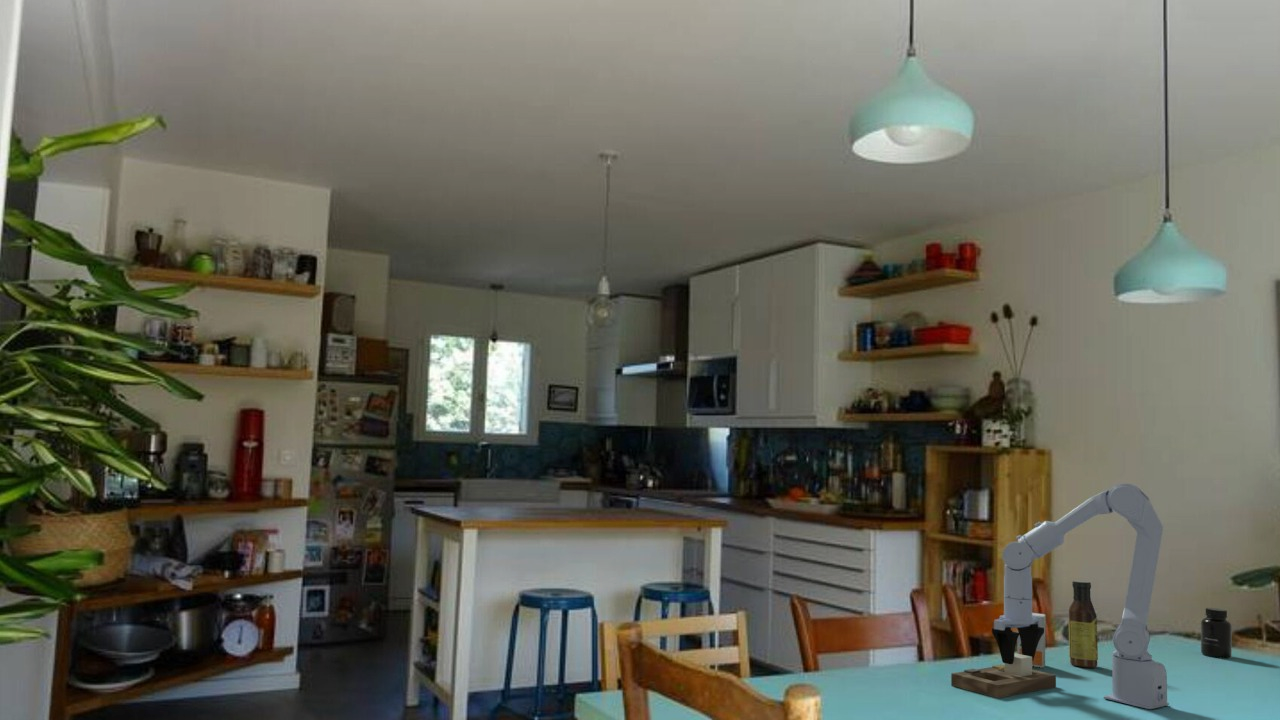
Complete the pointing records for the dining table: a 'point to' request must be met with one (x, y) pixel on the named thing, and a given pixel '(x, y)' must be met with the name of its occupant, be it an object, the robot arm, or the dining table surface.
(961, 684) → the socket board
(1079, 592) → the sauce bottle
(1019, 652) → the skincare box
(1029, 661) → the plug
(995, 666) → the brass tag
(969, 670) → the grey tag
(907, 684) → the dining table surface
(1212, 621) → the supplement bottle
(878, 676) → the dining table surface
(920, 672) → the dining table surface
